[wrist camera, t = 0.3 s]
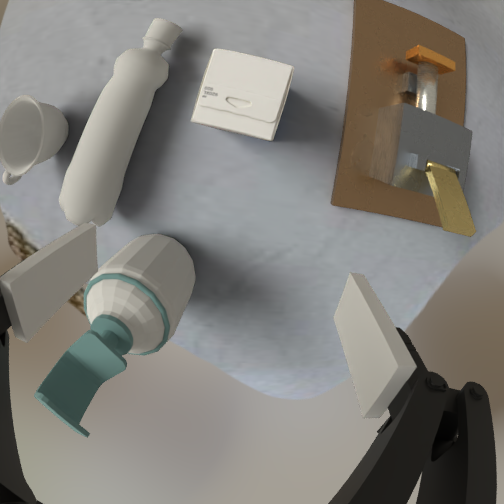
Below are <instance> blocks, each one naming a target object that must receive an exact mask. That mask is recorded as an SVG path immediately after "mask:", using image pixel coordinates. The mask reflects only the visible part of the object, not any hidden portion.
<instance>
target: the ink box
mask: <svg viewBox="0 0 504 504" xmlns="http://www.w3.org/2000/svg"><path fill="white" fill-rule="evenodd" d="M293 72H294V66H291V65H288V64H284V63H281V62H277V61H273V60H269V59H266V58H262V57H257V56H253V55H249V54H244V53H240V52H235V51H229V50H224V49H217V48H216V49H214V50H213V52H212V55H211V57H210V59H209V62H208V65H207V68H206V71H205V73H204V76H203V80H202V83H201V86H200V89H199V92H198V96H197V99H196V103H195V106H194V110H193V114H192V118H191V122H194V123H197V124H201V125H204V126H208V127H212V128H216V129H220V130H224V131H228V132H233V133H237V134H241V135H245V136H250V137H254V138H258V139H263V140H267V141H273V139H274V136H275V133H276V130H277V127H278V124H279V121H280V118H281V115H282V112H283V108H284V105H285V102H286V99H287V95H288V92H289V88H290V84H291V80H292V76H293Z"/></svg>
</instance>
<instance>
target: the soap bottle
mask: <svg viewBox="0 0 504 504" xmlns="http://www.w3.org/2000/svg"><path fill="white" fill-rule="evenodd" d="M195 277H196V276H195V270H194V264H193V260H192V258H191V257H190V255H189V253H188V252H187V250H186V248H185V247H184V246H182V245H181V244H180V243H179V242H178V241H176V240H175V239H174V238H171V237H168V236H165V235H162V234H150V235H143V236H140V237H138V238H136V239H135V240H133V241H131V242H129V243H128V244H127V245H126V246H124V247H123V248H122V249H121V250H120V251H119V252H117V253H116V254H115V255H114V256H113V257H112V258H110V259H109V260H108V261H107V262H106V263H105V264H104V265H103V266H101V267H100V268H99V269H98V272H97V273H96V274H95V275H94V276H93V277H92V278H91V280H90V282H89V284H88V286H87V288H86V290H85V292H84V310H85V313H86V315H87V318H88V320H89V323H90V325H91V330H88V331H87V332H86V333H85V334H84V335H82V336H81V337H80V338H79V339H78V340H77V341H76V342H75V343H74V344H73V345H72V346H70V348H69V349H68V350H67V351H66V352H65V353H64V354H63V356H62V357H61V358H60V359H59V361H58V362H57V363H56V365H55V366H54V367H53V369H52V370H51V371H50V373H49V374H48V375H47V377H46V378H45V379H44V381H43V382H42V384H41V385H40V386H39V388H38V389H37V391H36V393H35V395H34V397H35V398H36V399H37V400H38V401H40V402H41V403H42V404H43V405H44V406H45V407H46V408H47V409H48V410H50V411H51V412H52V413H53V414H54V415H56V416H57V417H58V418H59V419H60V420H61V421H63V422H64V423H65V424H66V425H68V426H69V427H70V428H71V429H73V430H74V431H75V432H77V433H79V434H81V435H83V436H85V437H88V436H89V434H90V433H89V432H87V431H86V430H85V429H84V428H83V427H81V426H80V425H79V423H80V421H81V419H82V417H83V415H84V413H85V411H86V409H87V407H88V406H89V404H90V402H91V400H92V398H93V397H94V395H95V393H96V391H97V390H98V388H99V387H100V386H101V385H102V383H104V382H105V381H107V380H108V379H110V378H112V377H114V376H115V375H117V374H119V373H121V372H122V371H124V370H125V369H126V367H127V362H126V360H125V359H124V358H123V357H122V356H121V355H124V354H127V353H128V354H134V355H147V354H151V353H154V352H157V351H159V350H160V348H161V347H163V345H164V344H165V343H166V342H167V341H168V340H169V339H170V338H171V337H172V336H173V335H174V333H175V331H176V328H177V326H178V324H179V321H180V319H181V317H182V315H183V312H184V310H185V308H186V306H187V303H188V301H189V299H190V297H191V295H192V291H193V287H194V284H195Z"/></svg>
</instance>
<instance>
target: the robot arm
mask: <svg viewBox="0 0 504 504" xmlns="http://www.w3.org/2000/svg"><path fill="white" fill-rule="evenodd" d="M97 272H98V265H97V245H96V225H95V224H89V223H83V224H82V225H80V226H78V227H76V228H75V229H73V230H71V231H70V232H68V233H66V234H65V235H63V236H61V237H60V238H58V239H56V240H55V241H53V242H51V243H50V244H48V245H47V246H45V247H44V248H42V249H40V250H39V251H37V252H36V253H34V254H33V255H31V256H30V257H28V258H27V259H25V260H23V261H21V262H20V263H19V264H17V266H14V267H13V268H11V270H8V271H7V272H6V273H4V274H3V275H2V276H0V504H43V503H41V502H39V501H36V498H35V496H34V494H33V492H32V490H31V489H30V487H29V486H28V484H27V483H26V480H25V478H24V476H23V472H22V468H21V464H20V459H19V455H18V450H17V444H16V439H15V433H14V427H13V419H12V412H11V411H12V410H11V400H10V387H9V334H8V331H7V329H8V328H9V327H10V326H12V329H13V331H14V334H15V337H17V338H19V339H20V340H22V341H24V342H26V343H28V341H29V340H30V339H31V338H32V337H33V336H34V335H35V334H36V333H37V332H38V331H39V329H40V328H41V327H42V326H43V325H44V324H45V323H46V322H47V321H48V320H49V319H50V318H51V317H52V316H53V315H54V314H55V313H56V312H57V311H58V309H60V308H61V307H62V305H64V304H65V303H66V302H67V301H68V300H69V299H70V298H71V297H72V296H73V295H74V294H75V293H76V292H77V291H78V290H79V289H80V288H81V287H82V286H83V285H84V284H85V283H86V282H87V281H88V280H89V279H90V278H92V277H93V276H94V275H95V274H96V273H97ZM333 318H334V321H335V325H336V328H337V331H338V334H339V337H340V340H341V344H342V347H343V350H344V354H345V357H346V360H347V364H348V367H349V370H350V374H351V377H352V381H353V384H354V388H355V391H356V395H357V399H358V402H359V406H360V410H361V414H362V417H363V418H380V417H381V416H382V415H383V413H384V412H385V411H386V409H387V408H388V410H389V413H390V417H389V418H388V419H387V420H386V422H385V423H384V424H383V425H382V426H381V428H380V429H379V430H378V431H377V432H378V433H379V434H378V436H377V437H376V439H375V440H374V442H373V443H372V445H371V447H370V448H369V450H368V451H367V453H366V454H365V456H364V457H363V459H362V460H361V461H360V463H359V464H358V466H357V467H356V469H355V470H354V471H353V473H352V474H351V476H350V477H349V478H348V480H347V481H346V482H345V484H344V485H343V486H342V487H341V489H340V490H339V492H338V493H337V494H336V495H335V496H334V497H333V499H332V500H331V501H330V502H329V503H328V504H407V502H408V500H409V498H410V496H411V494H412V492H413V490H414V488H415V486H416V484H417V481H418V479H419V477H420V474H421V472H422V477H421V482H420V488H419V493H418V497H417V502H416V504H496V491H497V480H496V479H497V475H496V452H495V440H494V431H493V423H492V416H491V409H490V404H489V398H488V395H487V392H486V391H485V389H484V388H483V387H482V386H481V385H480V384H477V383H475V382H467V383H466V384H465V386H464V387H463V388H462V389H461V391H460V390H455V389H451V388H449V387H448V384H447V382H446V381H445V380H444V378H442V377H441V376H440V375H438V374H437V373H434V372H429V371H428V370H427V368H426V367H425V365H424V363H423V361H422V359H421V358H420V356H419V354H418V352H417V351H416V349H415V347H414V345H412V342H411V340H410V338H409V337H408V335H407V334H406V333H405V332H404V331H403V330H402V329H400V328H397V327H395V326H394V324H393V322H392V321H391V319H390V317H389V316H388V314H387V312H386V311H385V309H384V307H383V305H382V304H381V302H380V300H379V299H378V297H377V296H376V294H375V292H374V291H373V289H372V287H371V286H370V284H369V283H368V281H367V279H366V278H365V276H364V275H362V274H357V273H351V272H350V274H349V277H348V279H347V282H346V285H345V288H344V291H343V293H342V296H341V299H340V302H339V304H338V307H337V310H336V312H335V315H334V317H333ZM457 435H458V437H457Z"/></svg>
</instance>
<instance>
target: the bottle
mask: <svg viewBox="0 0 504 504" xmlns="http://www.w3.org/2000/svg"><path fill="white" fill-rule="evenodd" d="M182 31H183V30H182V28H181V27H179V26H178V25H176V24H174V23H172V22H170V21H167V20H164V19H160V18H155V19H154V20H153V22H152V24H151V26H150V28H149V30H148V32H147V34H146V36H145V37H143V38H142V39H143V40H144V47H143V48H140V49H128V50H127V51H125V52H124V53H123V54H122V55H120V56H119V57H118V58H117V59H116V62H115V65H114V75H113V77H112V78H111V79H110V81H109V82H108V84H107V85H106V86H105V88H104V89H103V91H102V92H101V94H100V96H99V98H98V100H97V102H96V105H95V107H94V109H93V111H92V113H91V115H90V117H89V120H88V122H87V124H86V126H85V129H84V131H83V133H82V136H81V138H80V141H79V143H78V146H77V148H76V151H75V154H74V156H73V159H72V162H71V164H70V165H69V167H68V169H67V171H66V174H65V178H64V182H63V186H62V190H61V194H60V197H59V203H60V206H61V209H62V210H63V211H65V215H66V218H67V220H68V221H70V222H72V223H73V224H76V225H78V226H80V225H82V224H83V223H89V222H90V221H92V222H93V223H94V224H96V225H97V226H98V227H100V226H102V225H104V224H105V223H106V222H108V221H109V220H110V219H111V218H112V215H113V212H114V209H115V206H116V203H117V200H118V197H119V195H120V192H121V189H122V186H123V179H124V175H125V172H126V169H127V166H128V163H129V160H130V158H131V155H132V152H133V149H134V147H135V144H136V141H137V139H138V136H139V134H140V131H141V129H142V126H143V124H144V121H145V119H146V117H147V114H148V112H149V110H150V107H151V104H152V100H153V97H154V93H155V90H157V89H158V88H159V87H161V86H162V85H163V83H164V82H165V81H166V80H167V79H168V69H169V64H168V63H167V62H166V61H165V60H164V59H163V58H162V57H161V54H162V53H163V52H165V51H166V50H171V45H172V44H173V43H174V41H175V40H176V39H177V38H178V36H179V35H180V34H181V33H182Z"/></svg>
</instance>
